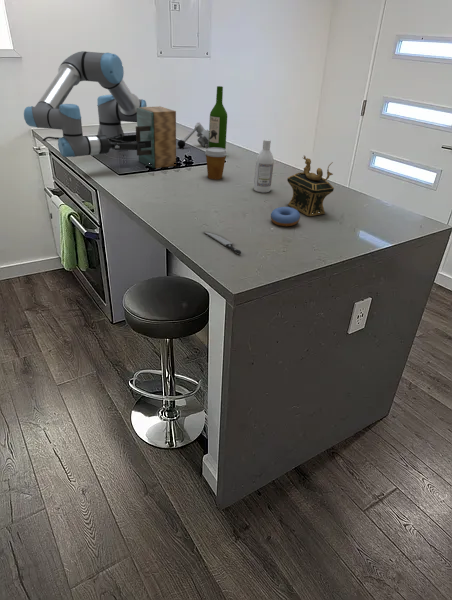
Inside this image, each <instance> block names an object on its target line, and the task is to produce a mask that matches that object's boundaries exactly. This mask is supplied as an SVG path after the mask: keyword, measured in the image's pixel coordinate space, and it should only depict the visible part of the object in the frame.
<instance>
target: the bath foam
mask: <svg viewBox="0 0 452 600" xmlns="http://www.w3.org/2000/svg"><path fill="white" fill-rule="evenodd" d="M271 141H272V140H271V139H266V138H264V139H263V140H262V149H261V150H260V152H259V153H258V155H257V157H256V161H255V172H254V179H253V182H254V183H253V190H254V191H255V192H257V193H263V194H265V193H270V191H271V189H272V180H273V170H274V156H273V153H272V151H271V144H272V143H271Z"/></svg>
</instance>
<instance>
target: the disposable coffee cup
mask: <svg viewBox="0 0 452 600" xmlns="http://www.w3.org/2000/svg"><path fill="white" fill-rule="evenodd" d="M204 154H205V159H206V171H207V178H208V179H210V180H216V181H219V180H221V179H223V175H224V169H225V163H226V158H227V155H228V152H227V149H223V148H217V147H211V148H209V147H207V148H206V149H205V151H204Z"/></svg>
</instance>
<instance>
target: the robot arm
mask: <svg viewBox="0 0 452 600" xmlns="http://www.w3.org/2000/svg"><path fill="white" fill-rule="evenodd" d="M124 72H125V71H124V66H123V62H122V59H121V58H120V57H119V55H117V54H116V53H112V52H99V51H98V52H97V51H85V50H81V51H77V52H75V53H72V54H71V55H70V56H68V57H67V58H65V59H64V60H63V61H62V62H61V63H60V65H59V66H58V69H57V74H56V75H55V77H54V79H53V80H52V81H51V83H50V84H49V86H48V87H47V89H46V90H45V91H44V93H43V94H42V96H41V97H40V99H39V100H38V101H37V103H36V104H35V106H33V105H31V106H26V107H25V108H24V110H23V120H24V121H25V124H26V125H27V126H28V127H31V128H32V127H33V128H37V129H50V130H51V129H52V130H60V131H62V137H59V136H58V137H55V136H45V137H44V138H43V139H42V142H45V141H46V140H48V139H51V140H57V147H58V151H59V153H60V155H61V156H62V157H63V158H75V157H84V156H91V157H93V156H95V155H106V154H108V153H109V152H110V149H112V150H115V151H136V152H137V151H138V150H139V148H150V147H151V141H139V142H136V134H127V135H126V134H125V133H124V130H123V127H122V122H127V123H137V108H139V107H148V105H147V101H146V99H143V98H140V99H139V97H138V96H137V95H136V94H135V93H132V92H131V90H130V88H129V86H128V85H127V84H126V82H125V80H124V74H125V73H124ZM80 82H96V83H98V84H99V86H100V87H102V88H103V89H105V90H108V92H109V94H105V95H103V94H102V95H99V96H97V102H96V103H97V105H96V106H97V114H98V124H99V125H98V131H97V134H96V135H95V134H91V135H84V134H83V123H82V115H81V109H80V107H79V105H77V104H74V103H65V101H66V99H67V97H68V96H69V94H71V91H72V90H73V89H74V87H75V86H77V85H79V84H80ZM49 215H50V219H53V213H51V212H50V213H49Z"/></svg>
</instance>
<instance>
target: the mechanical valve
mask: <svg viewBox="0 0 452 600" xmlns="http://www.w3.org/2000/svg"><path fill="white" fill-rule="evenodd" d="M195 132H197V133H196V137H198V138H197V142H198V144H199V145H200V146H201V147H205V146H208V147H209V129H205V128H204V126H203V125H202V123H201V122H197V123H195V125H194V128H193V129H192V130H191V131H190V132H189V133H188V134H187V135H186V136H185V138H183V139H180V140H178V141H177V147H178V148H179V149H184V148H185V146H186V142H187V141H188V140H189V139H190V137H192V136H193V135H194V133H195Z"/></svg>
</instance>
